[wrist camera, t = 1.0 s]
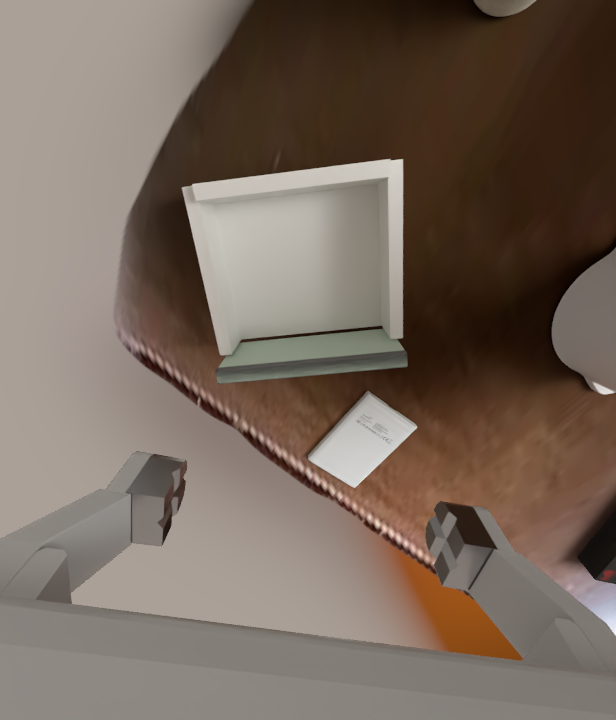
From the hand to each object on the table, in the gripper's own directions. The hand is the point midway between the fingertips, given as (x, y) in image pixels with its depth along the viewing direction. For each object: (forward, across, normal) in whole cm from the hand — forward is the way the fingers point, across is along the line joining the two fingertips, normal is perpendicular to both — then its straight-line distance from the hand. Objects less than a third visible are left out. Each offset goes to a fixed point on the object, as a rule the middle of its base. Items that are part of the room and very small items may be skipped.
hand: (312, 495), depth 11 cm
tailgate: (+27, -1, +4) cm, 27 cm away
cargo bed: (+28, +2, -4) cm, 29 cm away
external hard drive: (+29, -10, +17) cm, 35 cm away
